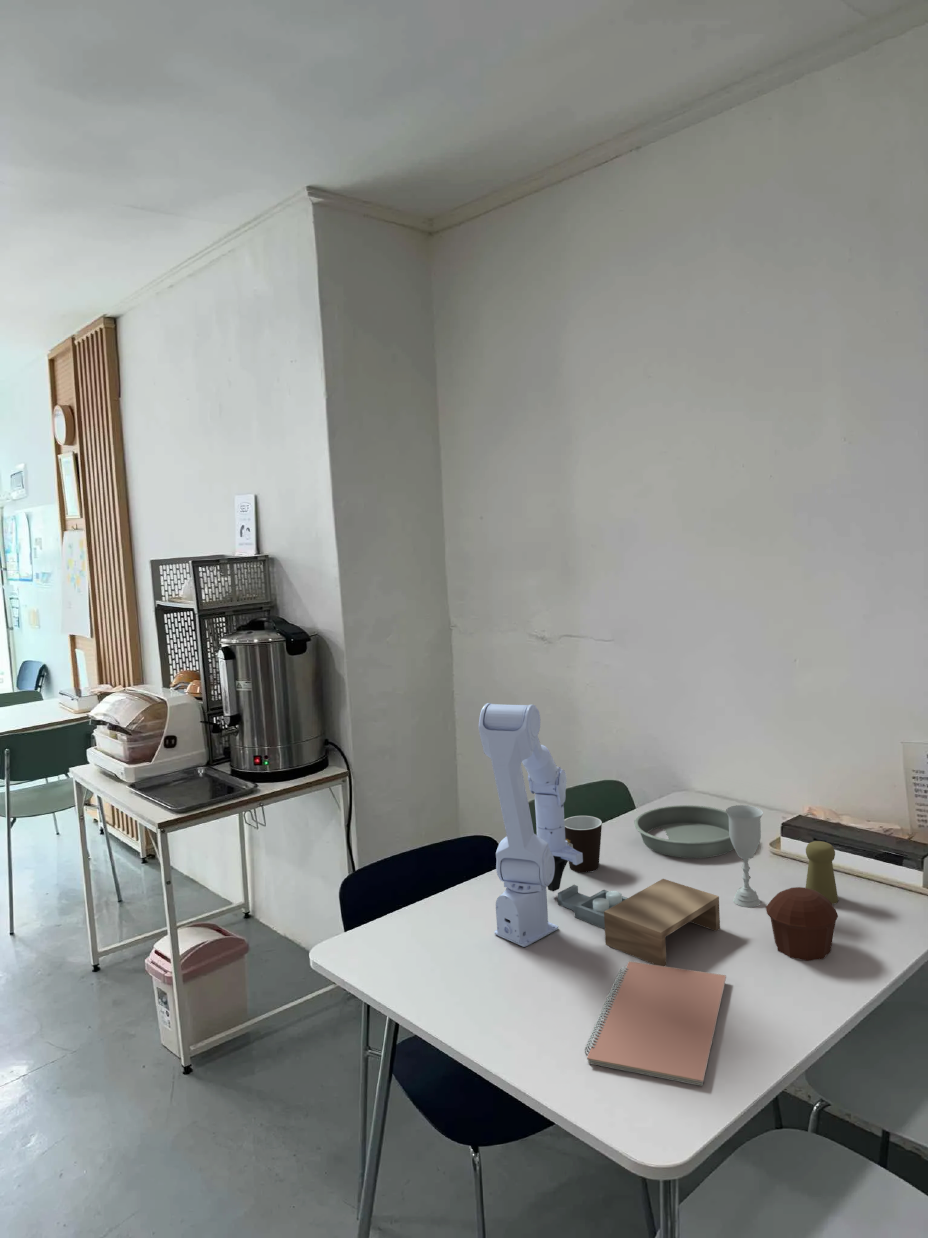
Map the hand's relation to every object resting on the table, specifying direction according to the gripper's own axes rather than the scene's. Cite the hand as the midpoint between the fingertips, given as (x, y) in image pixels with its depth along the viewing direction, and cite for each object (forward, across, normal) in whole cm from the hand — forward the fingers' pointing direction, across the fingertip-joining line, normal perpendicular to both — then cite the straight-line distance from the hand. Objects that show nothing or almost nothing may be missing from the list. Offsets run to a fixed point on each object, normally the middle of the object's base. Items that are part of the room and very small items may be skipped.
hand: (553, 889), depth 172 cm
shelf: (+1, -26, 0) cm, 26 cm away
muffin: (+2, -46, -12) cm, 48 cm away
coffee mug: (+2, +6, -16) cm, 17 cm away
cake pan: (+2, -4, -42) cm, 42 cm away
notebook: (+2, -40, +22) cm, 46 cm away
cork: (+2, -40, -32) cm, 51 cm away
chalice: (+2, -30, -22) cm, 37 cm away
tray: (+1, -11, 0) cm, 11 cm away
